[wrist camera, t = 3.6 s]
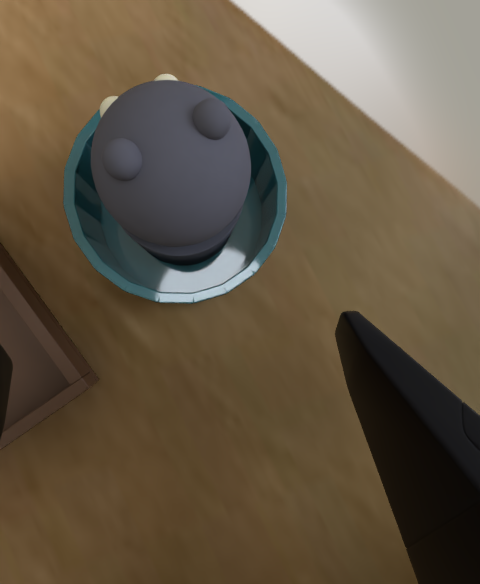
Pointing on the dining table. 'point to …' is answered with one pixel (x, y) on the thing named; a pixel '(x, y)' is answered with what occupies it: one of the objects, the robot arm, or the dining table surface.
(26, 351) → the tray
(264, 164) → the teal bowl
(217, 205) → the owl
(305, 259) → the dining table surface
